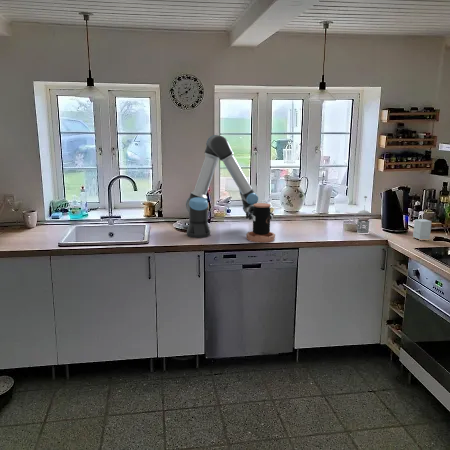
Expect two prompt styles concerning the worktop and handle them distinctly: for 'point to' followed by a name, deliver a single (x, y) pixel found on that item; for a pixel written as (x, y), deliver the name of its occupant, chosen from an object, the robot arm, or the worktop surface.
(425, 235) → the supplement box
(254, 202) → the robot arm
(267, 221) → the coffee jar
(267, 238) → the round tray
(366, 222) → the french press
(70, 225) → the worktop surface
